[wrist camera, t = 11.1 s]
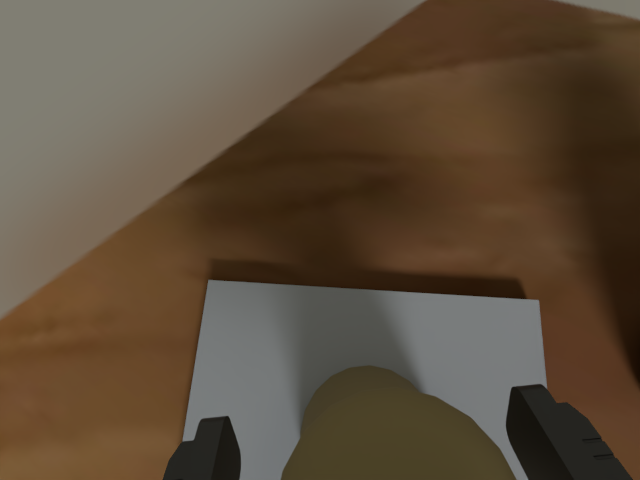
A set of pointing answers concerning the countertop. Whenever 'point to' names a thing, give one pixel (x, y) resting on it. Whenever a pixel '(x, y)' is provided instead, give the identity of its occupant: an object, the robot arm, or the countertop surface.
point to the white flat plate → (353, 357)
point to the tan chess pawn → (389, 434)
